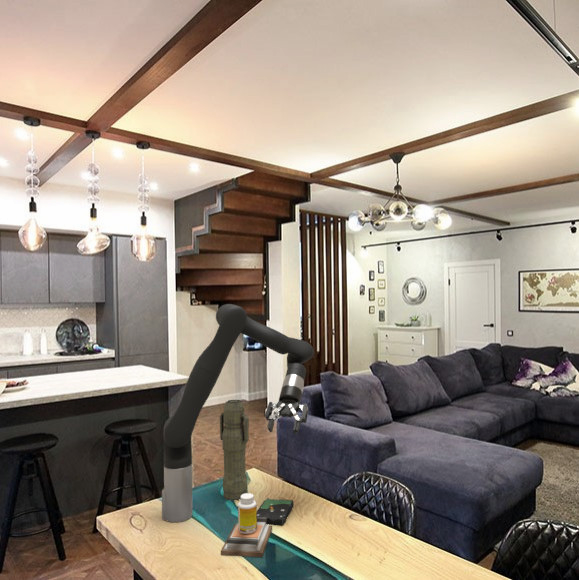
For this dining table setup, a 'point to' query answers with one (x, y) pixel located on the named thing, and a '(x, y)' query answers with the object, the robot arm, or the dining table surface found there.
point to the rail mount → (248, 540)
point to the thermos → (234, 448)
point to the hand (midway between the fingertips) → (282, 431)
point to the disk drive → (275, 511)
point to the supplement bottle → (247, 514)
